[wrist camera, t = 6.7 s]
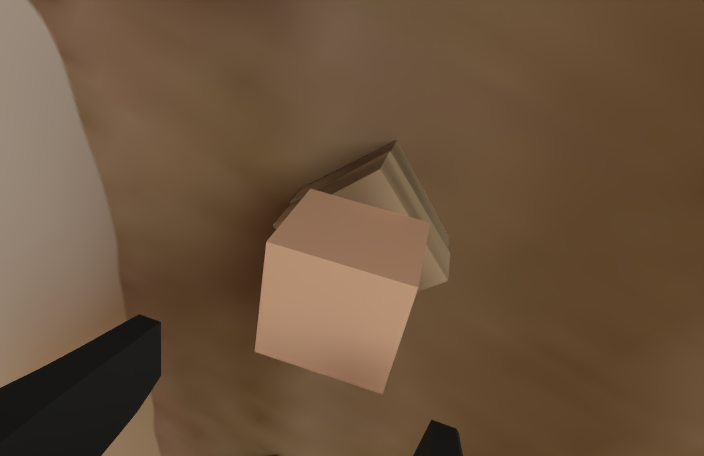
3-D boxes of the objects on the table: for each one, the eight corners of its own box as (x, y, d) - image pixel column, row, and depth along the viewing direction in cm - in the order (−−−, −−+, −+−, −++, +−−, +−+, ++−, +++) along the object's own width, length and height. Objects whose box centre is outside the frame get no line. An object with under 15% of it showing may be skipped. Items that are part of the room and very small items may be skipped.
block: (399, 316, 18) (382, 394, 14) (295, 284, 18) (254, 351, 15) (430, 222, 16) (417, 287, 12) (310, 188, 16) (266, 241, 13)
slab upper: (351, 291, 20) (340, 319, 19) (290, 203, 19) (272, 225, 17) (450, 253, 18) (448, 280, 17) (389, 150, 17) (380, 169, 15)
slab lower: (357, 268, 22) (347, 291, 20) (304, 184, 21) (289, 202, 19) (449, 233, 20) (447, 256, 18) (398, 137, 19) (390, 152, 17)
